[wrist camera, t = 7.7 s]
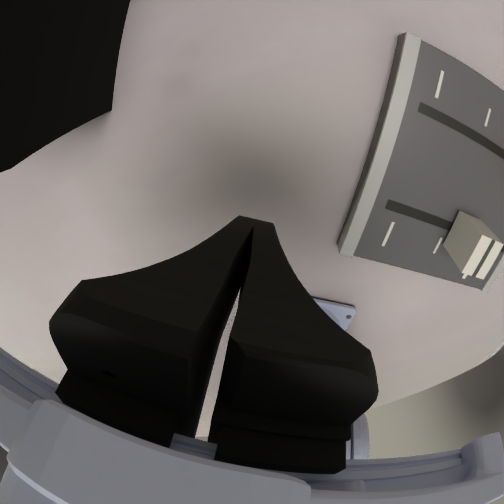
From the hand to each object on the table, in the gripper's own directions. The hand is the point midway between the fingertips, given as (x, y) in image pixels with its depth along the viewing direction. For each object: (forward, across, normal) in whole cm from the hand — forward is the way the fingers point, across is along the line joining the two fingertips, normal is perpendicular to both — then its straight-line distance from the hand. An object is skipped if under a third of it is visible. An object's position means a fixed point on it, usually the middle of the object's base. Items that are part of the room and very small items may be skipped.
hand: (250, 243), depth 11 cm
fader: (+8, -15, 0) cm, 17 cm away
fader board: (+10, -14, -4) cm, 18 cm away
